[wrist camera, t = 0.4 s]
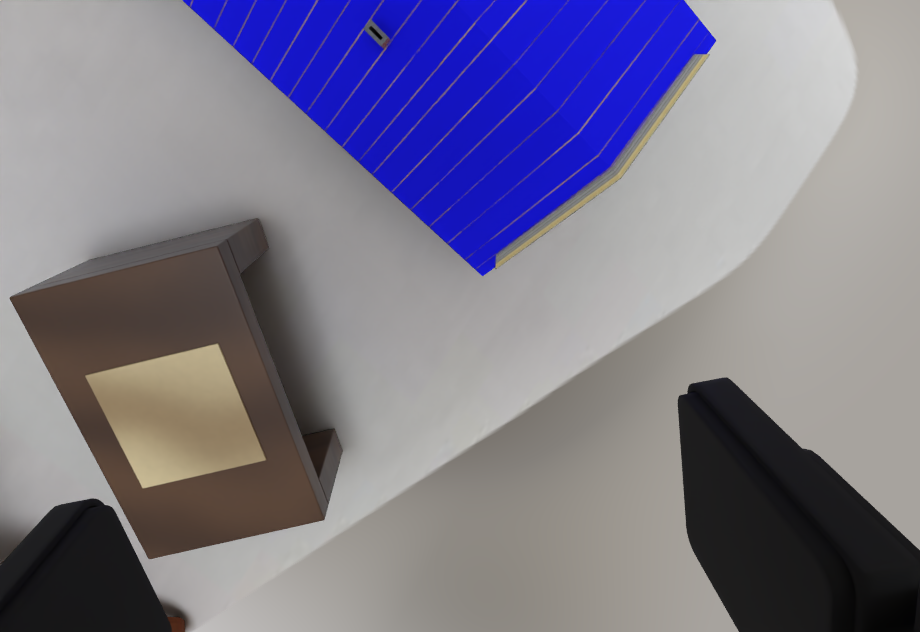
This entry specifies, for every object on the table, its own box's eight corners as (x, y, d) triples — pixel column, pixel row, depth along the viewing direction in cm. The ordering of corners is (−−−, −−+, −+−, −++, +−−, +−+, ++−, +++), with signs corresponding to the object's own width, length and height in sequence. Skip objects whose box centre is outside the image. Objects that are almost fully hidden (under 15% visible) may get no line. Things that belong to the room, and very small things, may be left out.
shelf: (88, 260, 30) (6, 298, 24) (258, 217, 30) (216, 246, 24) (195, 485, 35) (147, 561, 29) (343, 451, 34) (324, 522, 29)
